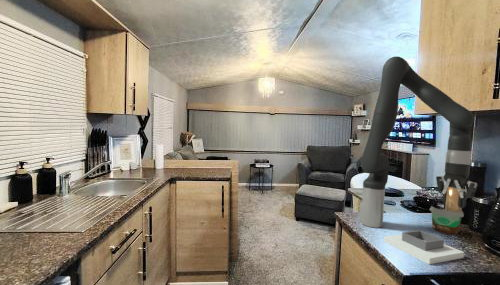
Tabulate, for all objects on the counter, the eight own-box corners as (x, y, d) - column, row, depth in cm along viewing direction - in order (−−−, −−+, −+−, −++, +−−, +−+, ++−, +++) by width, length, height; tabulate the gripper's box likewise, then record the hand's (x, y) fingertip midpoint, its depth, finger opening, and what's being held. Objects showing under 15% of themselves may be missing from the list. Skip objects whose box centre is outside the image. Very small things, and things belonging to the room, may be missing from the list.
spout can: (442, 208, 104) (444, 181, 103) (450, 207, 106) (453, 180, 105) (455, 212, 99) (458, 183, 99) (464, 211, 101) (467, 183, 100)
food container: (428, 230, 117) (430, 208, 117) (428, 226, 122) (430, 205, 122) (464, 237, 110) (465, 214, 110) (462, 233, 115) (464, 210, 115)
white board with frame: (384, 241, 103) (385, 229, 103) (415, 237, 109) (416, 225, 108) (429, 264, 86) (430, 249, 86) (463, 257, 92) (464, 243, 91)
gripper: (432, 159, 107) (428, 200, 108) (472, 164, 93) (468, 212, 94) (444, 159, 109) (441, 199, 110) (485, 164, 96) (481, 210, 97)
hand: (453, 205), depth 102 cm, fingers closed on spout can, 5 cm apart
